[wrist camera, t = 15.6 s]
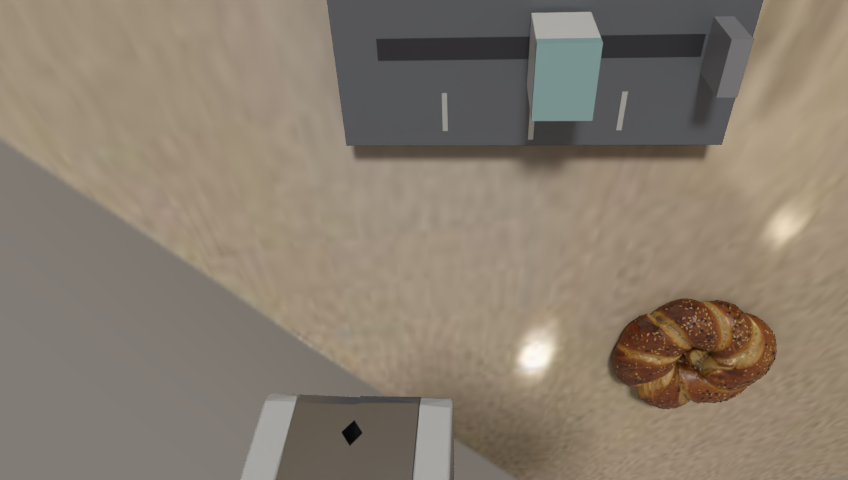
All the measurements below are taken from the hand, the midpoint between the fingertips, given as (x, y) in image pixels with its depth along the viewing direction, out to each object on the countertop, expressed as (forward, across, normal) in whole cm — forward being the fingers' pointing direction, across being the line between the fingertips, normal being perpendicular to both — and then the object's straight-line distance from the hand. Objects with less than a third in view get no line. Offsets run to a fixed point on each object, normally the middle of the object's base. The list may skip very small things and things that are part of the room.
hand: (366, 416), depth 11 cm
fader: (+27, -6, +5) cm, 28 cm away
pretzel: (+30, -19, +30) cm, 46 cm away
